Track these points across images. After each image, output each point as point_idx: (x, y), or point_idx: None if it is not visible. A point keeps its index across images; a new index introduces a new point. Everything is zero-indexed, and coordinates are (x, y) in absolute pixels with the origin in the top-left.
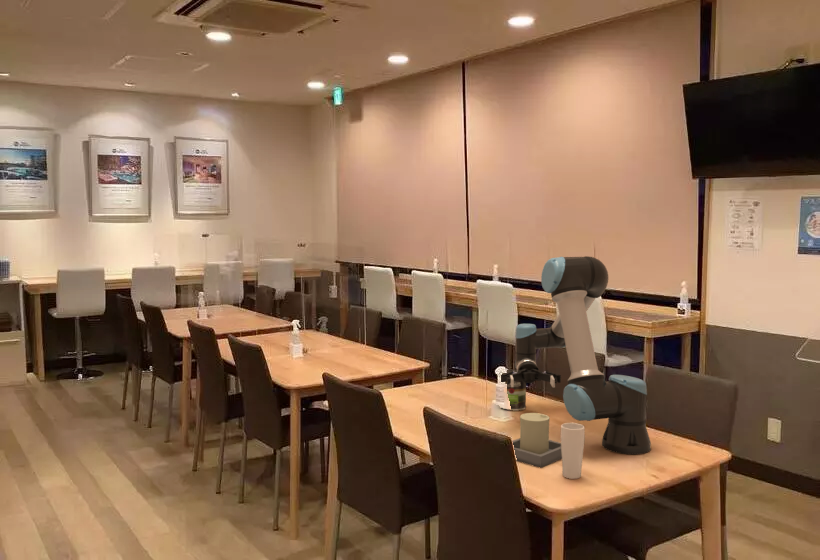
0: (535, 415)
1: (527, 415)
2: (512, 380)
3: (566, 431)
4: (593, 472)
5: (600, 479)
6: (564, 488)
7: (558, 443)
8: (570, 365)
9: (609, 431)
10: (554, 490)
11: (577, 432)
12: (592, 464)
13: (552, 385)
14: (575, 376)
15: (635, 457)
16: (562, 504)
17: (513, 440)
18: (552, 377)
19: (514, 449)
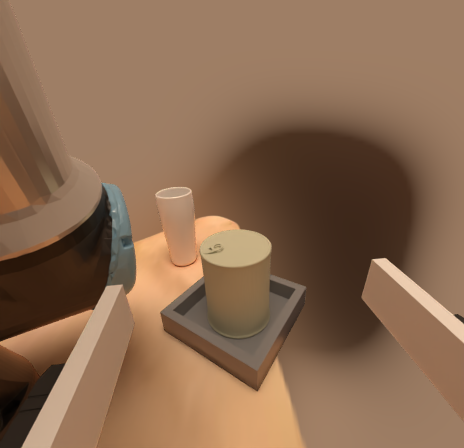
0: (233, 254)
1: (254, 251)
2: (376, 265)
3: (186, 191)
4: (147, 274)
5: (148, 259)
6: (200, 237)
7: (182, 317)
8: (58, 135)
9: (4, 368)
10: (212, 233)
11: (171, 191)
12: (134, 300)
13: (131, 314)
14: (85, 163)
15: (12, 350)
16: (207, 218)
17: (289, 315)
18: (86, 344)
19: (273, 276)
